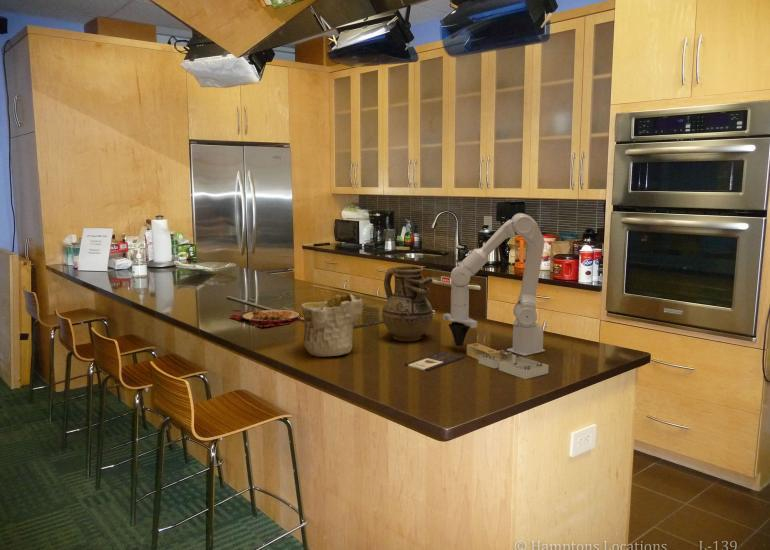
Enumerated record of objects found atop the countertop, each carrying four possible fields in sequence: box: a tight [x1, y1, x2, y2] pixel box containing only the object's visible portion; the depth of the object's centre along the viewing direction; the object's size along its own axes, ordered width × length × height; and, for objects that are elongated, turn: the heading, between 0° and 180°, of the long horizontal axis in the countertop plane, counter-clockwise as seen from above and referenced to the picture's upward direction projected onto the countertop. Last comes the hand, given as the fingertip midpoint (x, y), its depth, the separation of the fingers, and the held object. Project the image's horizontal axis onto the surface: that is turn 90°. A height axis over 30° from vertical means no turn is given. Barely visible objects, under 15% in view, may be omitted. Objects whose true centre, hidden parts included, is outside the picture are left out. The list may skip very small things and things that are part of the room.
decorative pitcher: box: [381, 265, 434, 342], centre depth 217 cm, size 22×18×25 cm
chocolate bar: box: [404, 351, 466, 372], centre depth 190 cm, size 9×1×18 cm
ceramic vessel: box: [300, 293, 364, 358], centre depth 201 cm, size 21×22×23 cm
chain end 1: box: [478, 349, 517, 369], centre depth 188 cm, size 9×6×3 cm
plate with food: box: [229, 309, 304, 328], centre depth 252 cm, size 25×26×4 cm
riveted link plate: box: [466, 342, 500, 364], centre depth 193 cm, size 4×12×4 cm, turn 27°
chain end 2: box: [498, 356, 549, 380], centre depth 179 cm, size 9×10×3 cm
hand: (459, 345), depth 202 cm, fingers closed
